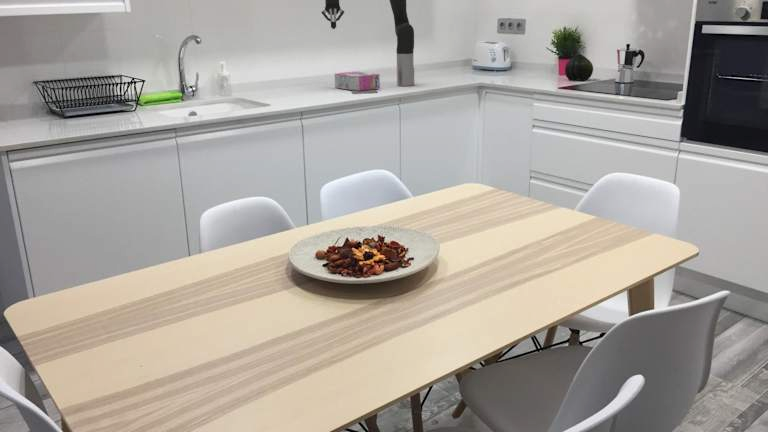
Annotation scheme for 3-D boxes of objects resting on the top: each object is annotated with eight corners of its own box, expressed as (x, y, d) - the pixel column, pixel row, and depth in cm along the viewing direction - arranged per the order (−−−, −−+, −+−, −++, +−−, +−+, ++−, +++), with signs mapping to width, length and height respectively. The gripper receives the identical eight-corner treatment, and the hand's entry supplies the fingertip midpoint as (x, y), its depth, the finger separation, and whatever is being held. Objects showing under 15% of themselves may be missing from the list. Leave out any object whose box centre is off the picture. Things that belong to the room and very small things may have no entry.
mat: (373, 86, 376) (373, 86, 376) (377, 92, 352) (377, 92, 352) (349, 87, 375) (349, 86, 375) (352, 93, 351) (352, 93, 351)
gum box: (332, 73, 372) (352, 70, 380) (333, 87, 374) (353, 85, 382) (359, 76, 354) (379, 73, 362) (359, 91, 356) (380, 88, 364)
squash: (579, 72, 367) (591, 50, 370) (556, 72, 378) (567, 50, 381) (590, 88, 376) (601, 66, 380) (567, 87, 387) (577, 65, 390)
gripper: (344, -5, 371) (345, 28, 377) (319, -5, 370) (321, 29, 376) (344, -5, 364) (346, 28, 370) (319, -5, 363) (321, 29, 368)
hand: (333, 28), depth 373 cm, fingers closed
